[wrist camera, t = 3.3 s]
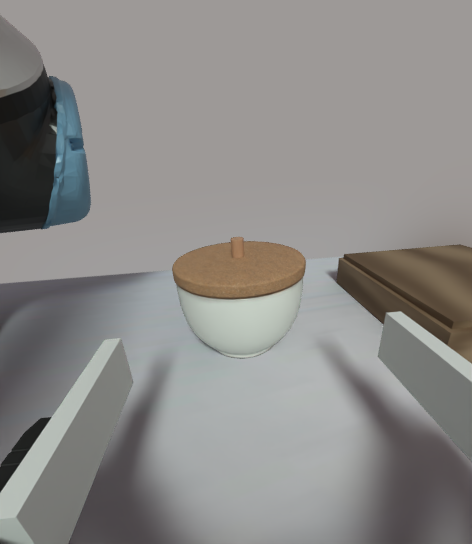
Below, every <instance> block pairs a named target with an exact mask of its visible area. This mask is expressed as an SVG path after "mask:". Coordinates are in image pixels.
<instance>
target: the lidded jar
mask: <svg viewBox="0 0 472 544" xmlns="http://www.w3.org/2000/svg"><path fill="white" fill-rule="evenodd" d="M305 266H306V261H305V258H304V256H303V255H302V254H301V253H300V252H299V251H297V250H295V249H293V248H291V247H288V246H284V245H281V244H276V243H269V242H255V241H247V242H246V241H243V238H242V237H233V238H231V242H229V243H221V244H216V245H210V246H206V247H202V248H199V249H196V250H193V251H191V252H188V253H186V254H184V255H183V256H181V257H179V258H178V259H177V260H176V262H175V263H174V264H173V268H172V271H173V276H174V281H175V283H176V285H177V291H178V296H179V300H180V305H181V308H182V311H183V314H184V316H185V318H186V320H187V323H188V324H189V326H190V328H191V329H192V330H193V332H194V333H195V334H196V335H197V336H198V337H199V338H200V339H201V340H202V341H203V342H204V343H206V344H207V345H209V346H210V347H212V348H214V349H215V350H216V351H218V352H219V353H221V354H223V355H225V356H228V357H233V358H250V357H255V356H258V355H261V354H263V353H265V352H266V351H268V350H269V349H270V348H271V347H272V346H273V345H274V344H276V343H277V342H278V341H280V340H281V339H282V338H283V337H284V336H285V335H286V333H287V332H288V331H289V330H290V329H291V327H292V325H293V323H294V321H295V319H296V317H297V314H298V311H299V308H300V302H301V297H302V290H303V276H304V273H305Z"/></svg>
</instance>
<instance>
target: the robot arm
mask: <svg viewBox="0 0 472 544" xmlns="http://www.w3.org/2000/svg"><path fill="white" fill-rule="evenodd" d="M83 145H84V144H83V137H82V128H81V122H80V117H79V112H78V107H77V103H76V99H75V95H74V93H73V90H72V88H71V86H70V85H69V84H68V83H67V82H65V81H61V80H59V79H58V78H56V77H53V76H49V78H48V77H47V74H46V70H45V68H44V64H43V61H42V58H41V55H40V52H39V51H38V49H37V48H36V46H35V45H34V44H33V43H32V42H31V41H30V40H29V39H27V38H26V37H25V36H24V35H23V34H22V33H21V32H19V31H18V30H17V29H16V28H15V27H14V26H13V25H11V24H10V23H9V22H8V21H7V20H6V19H4V18H3V17H2V16H1V15H0V233H6V232H15V231H24V230H33V229H47V228H49V227H50V226H54V225H60V224H66V223H71V222H76V221H79V220H81V219H83V218H84V217H85V216H86V215H87V214H88V212H89V210H90V205H91V197H90V184H89V176H88V167H87V160H86V154H85V150H84V148H83ZM378 357H379V359H380V360H381V361H382V362H383V363H384V364H385V365H386V366H387V368H388V369H389V370H390V371H391V372H392V373H393V374H394V375H395V376H396V378H397V379H398V380H399V381H400V382H401V383H402V384H403V385H404V387H405V388H406V389H407V390H408V391H409V392H410V393H411V394H412V396H413V397H414V398H415V399H416V400H417V401H418V402H419V403H420V405H421V406H422V407H423V408H424V409H425V410H426V411H427V412H428V414H429V415H430V416H431V417H432V418H433V419H434V420H435V421H436V422H437V424H438V425H439V426H440V427H441V428H442V429H443V430H444V431H445V433H446V434H447V435H448V436H449V437H450V438H451V439H452V440H453V442H454V443H455V444H456V445H457V446H458V447H459V448H460V449H461V451H462V452H463V453H464V454H465V455H466V456H467V457H468V458H469V459H470V461H471V462H472V364H471V363H470V362H469V361H467V360H466V359H465V358H463V357H462V356H461V355H459V354H458V353H457V352H455V351H454V350H452V349H451V348H450V347H448V346H447V345H446V344H444V343H443V342H442V341H440V340H439V339H438V338H436V337H435V336H433V335H432V334H431V333H429V332H428V331H427V330H425V329H424V328H423V327H421V326H420V325H419V324H417V323H416V322H414V321H413V320H412V319H410V318H409V317H408V316H406V315H405V314H404V313H402V312H401V311H399V312H389V313H386V316H385V321H384V326H383V331H382V337H381V342H380V347H379V353H378ZM132 384H133V379H132V375H131V371H130V368H129V364H128V361H127V357H126V354H125V350H124V347H123V343H122V340H121V338H116V339H106V340H104V341H103V343H102V344H101V346H100V347H99V349H98V350H97V352H96V353H95V355H94V356H93V358H92V359H91V360H90V362H89V363H88V365H87V366H86V368H85V369H84V371H83V372H82V374H81V375H80V377H79V378H78V380H77V381H76V383H75V384H74V385H73V387H72V388H71V390H70V391H69V393H68V394H67V396H66V397H65V399H64V400H63V402H62V403H61V405H60V406H59V407H58V409H57V410H56V412H55V413H54V415H53V416H52V417H48V418H40V419H39V420H38V421H37V422H36V423H35V424H34V425H33V426H32V427H30V428H29V429H28V430H27V431H26V432H25V433H24V434H23V435H22V437H21V438H20V439H19V441H18V442H17V443H16V445H15V446H14V447H13V449H12V452H11V453H9V454H8V456H7V457H6V458H5V460H4V461H3V462H2V464H1V467H0V544H68V543H69V541H70V539H71V536H72V534H73V531H74V529H75V526H76V524H77V521H78V519H79V516H80V514H81V511H82V509H83V506H84V504H85V501H86V499H87V496H88V494H89V491H90V489H91V486H92V484H93V481H94V479H95V476H96V474H97V471H98V469H99V466H100V464H101V461H102V459H103V456H104V454H105V451H106V449H107V446H108V444H109V441H110V439H111V437H112V434H113V432H114V429H115V427H116V424H117V422H118V419H119V417H120V414H121V412H122V409H123V407H124V404H125V402H126V399H127V397H128V394H129V392H130V389H131V387H132Z"/></svg>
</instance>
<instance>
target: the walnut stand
mask: <svg viewBox="0 0 472 544" xmlns="http://www.w3.org/2000/svg"><path fill="white" fill-rule="evenodd" d="M337 283H338V284H339V285H340V286H341V287H342V288H343V289H345V290H346V291H347V292H348V293H349V294H350V295H351V296H352V297H354V298H355V299H356V300H357V301H358V302H359V303H360V304H361V305H363V306H364V307H365V308H366V309H367V310H368V311H369V312H370V313H372V314H373V315H374V316H375V317H376V318H377V319H378V320H380V321H381V322H382V323H383V324H384V321H385V316H386V313H389V312H399V311H401V312H402V313H404V314H405V315H406V316H408V317H409V318H410V319H412V320H413V321H414V322H416V323H417V324H419V325H420V326H421V327H423V328H424V329H425V330H427V331H428V332H429V333H431V334H432V335H433V336H435V337H436V338H438V339H439V340H440V341H442V342H443V343H444V344H446V345H447V346H448V347H450V348H451V349H452V350H454V351H455V352H457V353H458V354H459V355H461V356H462V357H463V358H465V359H466V360H467V361H469V362H470V363H471V364H472V248H470V247H467V246H463V245H449V246H437V247H426V248H415V249H402V250H389V251H379V252H366V253H355V254H344V258H339V264H338V274H337Z"/></svg>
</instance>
